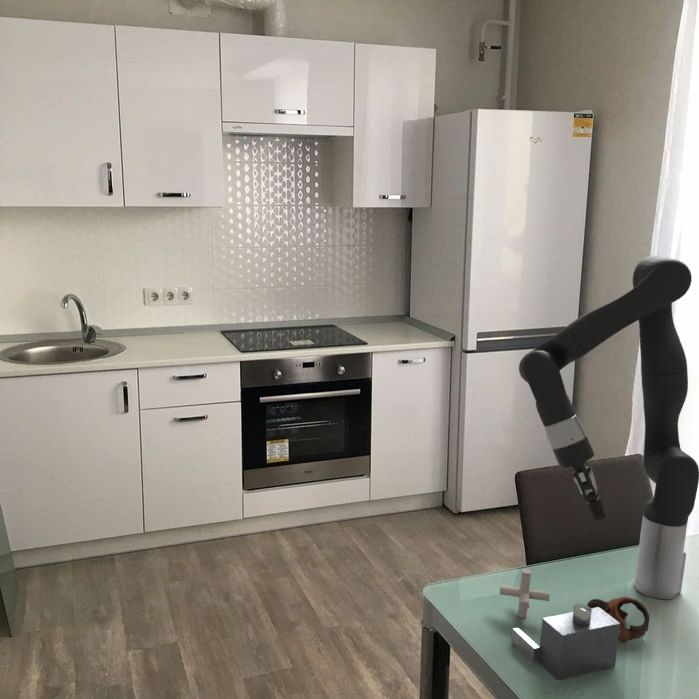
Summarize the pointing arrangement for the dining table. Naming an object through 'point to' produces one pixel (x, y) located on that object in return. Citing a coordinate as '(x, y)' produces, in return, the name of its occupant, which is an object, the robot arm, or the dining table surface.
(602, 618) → the grey boxy knob-topped device
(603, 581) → the dining table surface
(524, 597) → the pipe connector
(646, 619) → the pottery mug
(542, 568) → the dining table surface
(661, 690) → the dining table surface
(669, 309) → the robot arm
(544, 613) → the dining table surface
